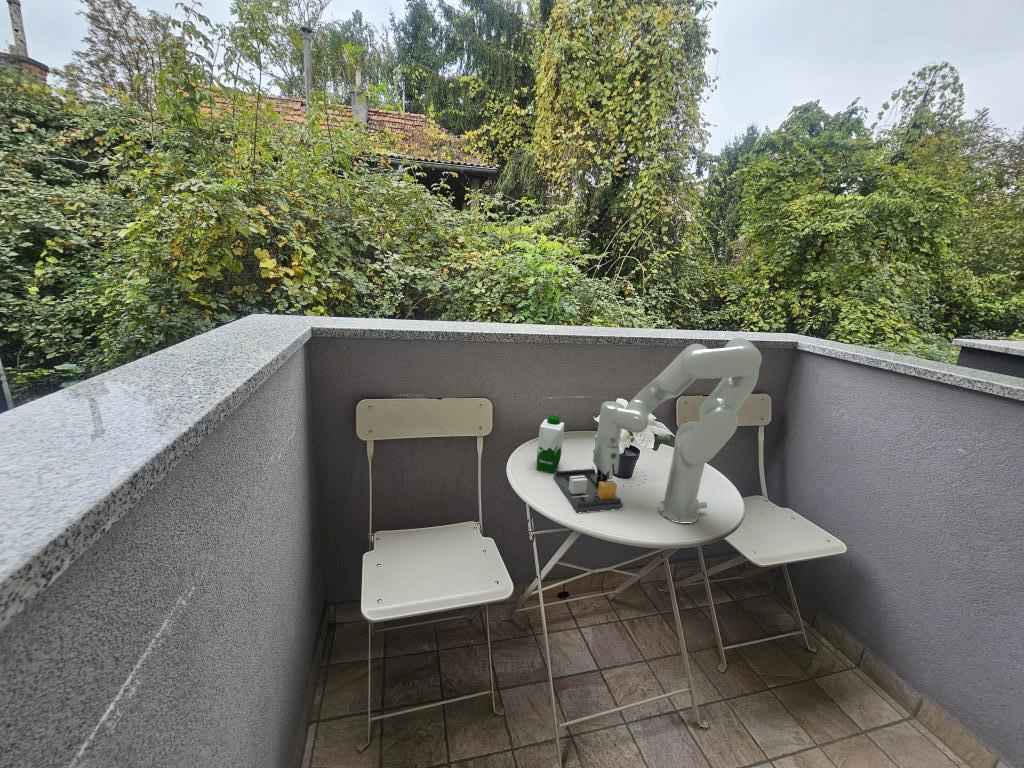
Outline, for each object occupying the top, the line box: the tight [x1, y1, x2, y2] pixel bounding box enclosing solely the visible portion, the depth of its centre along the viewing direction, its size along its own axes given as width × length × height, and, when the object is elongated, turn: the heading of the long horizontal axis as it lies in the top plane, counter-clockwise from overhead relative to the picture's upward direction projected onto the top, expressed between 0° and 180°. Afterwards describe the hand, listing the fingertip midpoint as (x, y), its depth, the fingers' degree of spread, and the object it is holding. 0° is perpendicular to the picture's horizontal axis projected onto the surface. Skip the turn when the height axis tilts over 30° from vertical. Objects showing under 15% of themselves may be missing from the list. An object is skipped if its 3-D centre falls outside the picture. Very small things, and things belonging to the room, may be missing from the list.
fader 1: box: [569, 475, 587, 494], centre depth 149 cm, size 5×3×5 cm, turn 105°
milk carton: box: [536, 414, 565, 475], centre depth 166 cm, size 9×9×20 cm
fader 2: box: [597, 480, 618, 500], centre depth 147 cm, size 5×3×5 cm, turn 105°
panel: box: [553, 468, 624, 514], centre depth 153 cm, size 16×22×3 cm
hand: (600, 487), depth 151 cm, fingers closed
